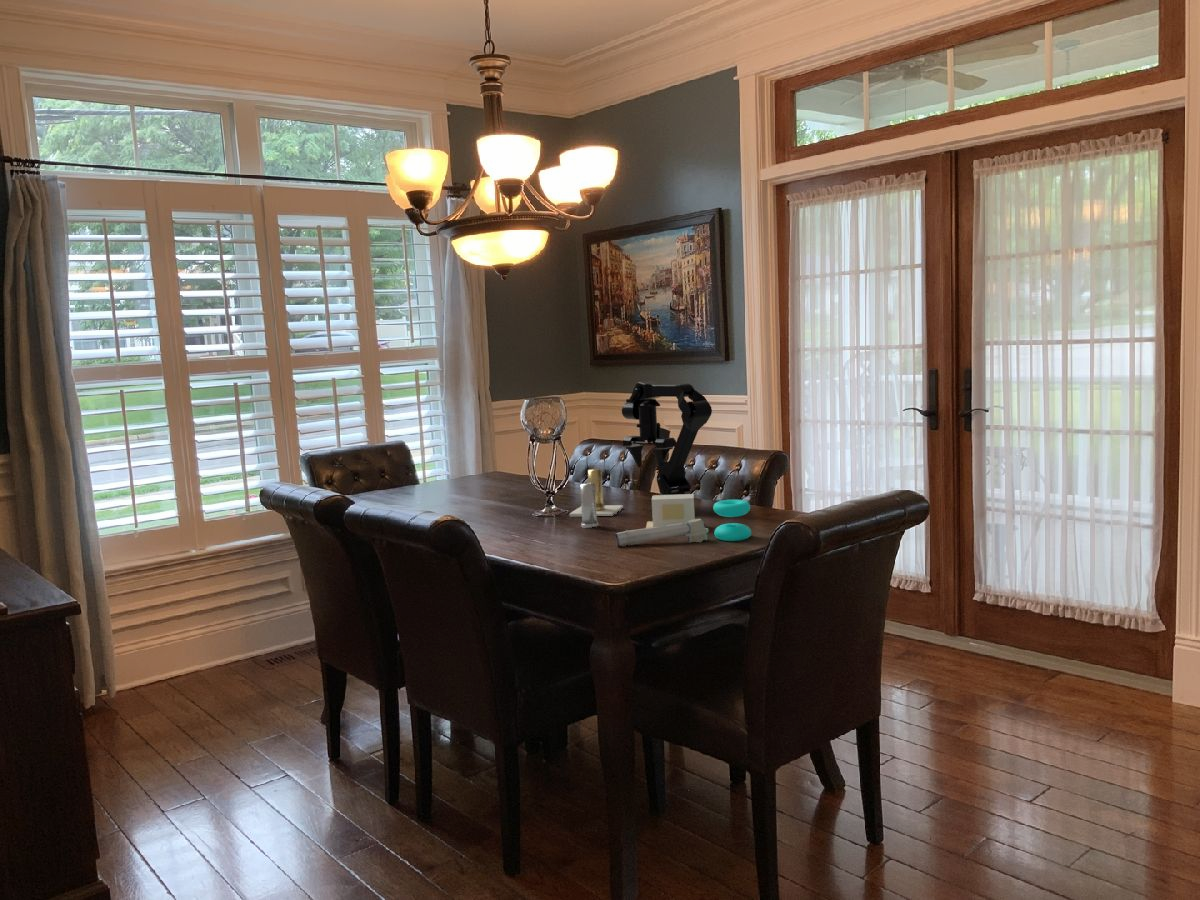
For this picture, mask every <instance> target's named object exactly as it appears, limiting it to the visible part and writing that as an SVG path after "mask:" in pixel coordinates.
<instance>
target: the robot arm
mask: <svg viewBox="0 0 1200 900" xmlns="http://www.w3.org/2000/svg"><path fill="white" fill-rule="evenodd" d="M662 397H670V398H672V397H674V398H676V399H677V407H678V409H679V410H680V411H681V415H680V417H681V421H682V426H681V429H680V431H679V434H678V436H677V439H675V438H674V437H670V435H671V430H668V429H667V428H663V427H661V423H660V422H658V421H657V420H658V419H657V416H658V415H657V407H660V406H661V404H660V402H659V401H657V399H658V398H662ZM686 398H688V399H689V400H690V401H688V402H687V400H686ZM625 401H626V402H625V403H624V404H623V406H622V408H621V414H622V416H623V417H624V418H625V419H626V420H636V421H637V420H638V423H637V424H636V428H639V435H629V436H624V437H623V439H622V446H623V447H625V449H626V450H628V451H629V453H630V455H631V456H632V457H631V458H633V460H634V462H635V463H636V466H637V467H638V468H639V469H640V468H642V465H643V464H642V463H643V462H642V459H643V458H642V456H643V455H642V450H643V448H644V447H645V446H644V445H646V446H655V447H656V448H654V452H655V456H656V457H655V458H656V462H657V466H658V470H657V471H656V474H657V475H656V484H657V487H658V490H659V495H679V494H687V493H690V492H691V487H692V485H691V484H690V483H689V480H688V479H687V478H686V474H687V472H686V469H685V464H686V462H687V459H688V457H689V456H690V455H689V454H690V452H691V449H692V447H693V445H694V443H695V440H696V437H697V434H698V432H699V430H700V429H701V428H702V427H704V426H705V424H707V422H708V421H709V419H710V418H711V416H712V414H713V410H712V406H711V404H710V403H709V401H708V400H707V398H706V397H705V396H704V395H703V394H702V393H700V392H699V391H697V390H696V389H695V388H694V387H693V385H691V384H690V383H681V384H680V383H679V384H675V383H674V384H668V383H667V384H663V383H660V382H659V381H655V380H649V381H638V382H636V383H635V386H634V388H633V389H632V392H631V394H630V397H629V398H626V400H625ZM670 450H672V451H671V455H670V458H669V460H667V461H666V458H667V455H668V454H669V452H670Z"/></svg>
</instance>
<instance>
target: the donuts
mask: <svg viewBox="0 0 1200 900" xmlns="http://www.w3.org/2000/svg"><path fill="white" fill-rule="evenodd" d="M712 508H713V511H714V513H715V514H717V515H718V516H720V517H721V516H722V517H725V518H726V517H730V518H735V517H742V516H744V515H746V514H748V513H749V512H750V511H751V504H750V502H749V501H747V500H743V499H724V500H723V499H722V500H717V502H715V503H714V504H713V507H712ZM751 535H752V530H751V528H750V527H749V526H748V525H746V524H743V523H736V522H732V523H723V524H721V525H718V526H717V527H716V528H715V529H714V537H715V538H717V539H718V540H721V541H724V542H725V541H726V542H739V541H745V540H746V539H749V538H750V537H751Z"/></svg>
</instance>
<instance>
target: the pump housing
mask: <svg viewBox="0 0 1200 900" xmlns="http://www.w3.org/2000/svg"><path fill="white" fill-rule="evenodd" d="M694 496H695V494H694V493H688V494H687V493H686V494H679V495H662V494H658V495H657V494H655V495H652V497H651V512H652V514H651V517H652V520H651V521H647V522H646V526H645V528H651V527H658V526H665V525H672V524H679V523H686V522H688V521H690V520H693V519H696V517H695V516H696V515H695V514H696V513H695V497H694Z"/></svg>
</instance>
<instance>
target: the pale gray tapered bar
mask: <svg viewBox="0 0 1200 900" xmlns="http://www.w3.org/2000/svg"><path fill="white" fill-rule="evenodd" d="M709 532H710V531H709V528H707V527H705V524H704V521H703V520H702V519H701V518H695V519H693V520H690V521H688V522H686V523H679V524H672V525H665V526H658V527H651V528H646V527H643V528H638V529H631V530H628V529H626V530H625V531H620V532H615V533H614V536H615V542H616V546H622V547H627V546H626V545H628V546H630V545H631V546H633V545H638V544H642V543H648V542H653V541H657V540H662V539H667V538H672V537H675V536H676V537H677V536H681V535H685V537H686V538H687V541H689V542H688V543H691V542H693V543H697V542H699V543H703V541H708V540H709V534H708V533H709Z"/></svg>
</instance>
